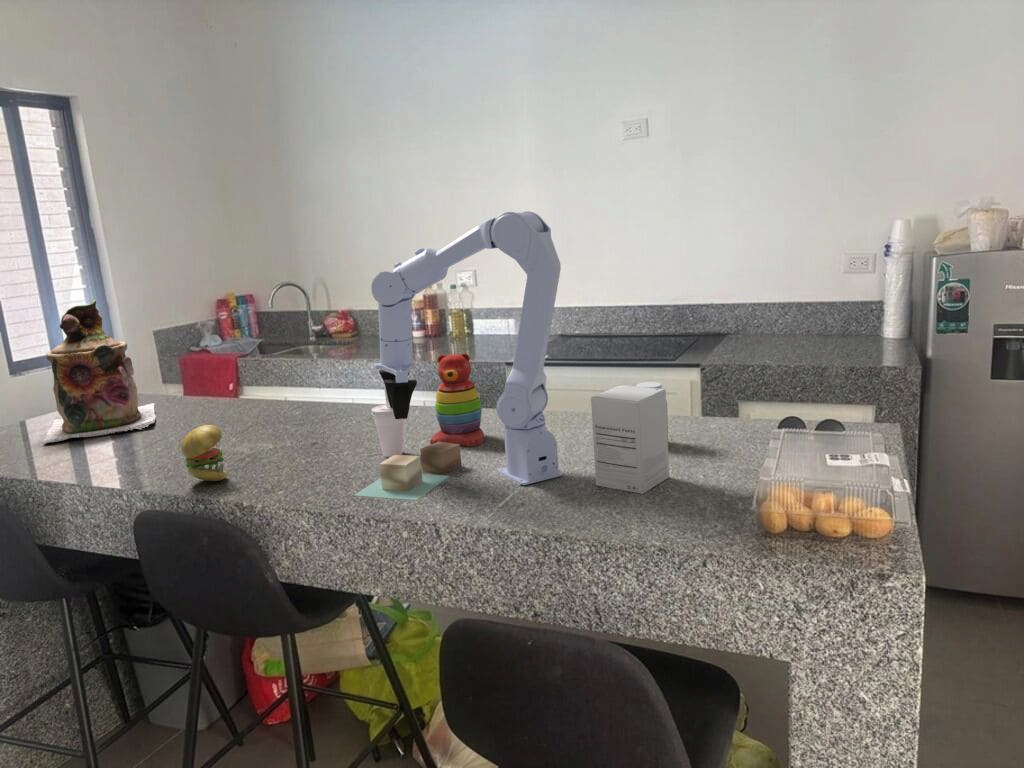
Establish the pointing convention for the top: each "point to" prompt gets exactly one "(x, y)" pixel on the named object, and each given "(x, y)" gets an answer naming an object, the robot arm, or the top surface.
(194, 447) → the hamburger
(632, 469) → the supplement box
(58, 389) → the cookie jar
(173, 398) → the top surface
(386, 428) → the smoothie
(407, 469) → the maple block
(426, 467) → the walnut block
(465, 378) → the stacking bear
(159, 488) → the top surface
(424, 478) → the mat
